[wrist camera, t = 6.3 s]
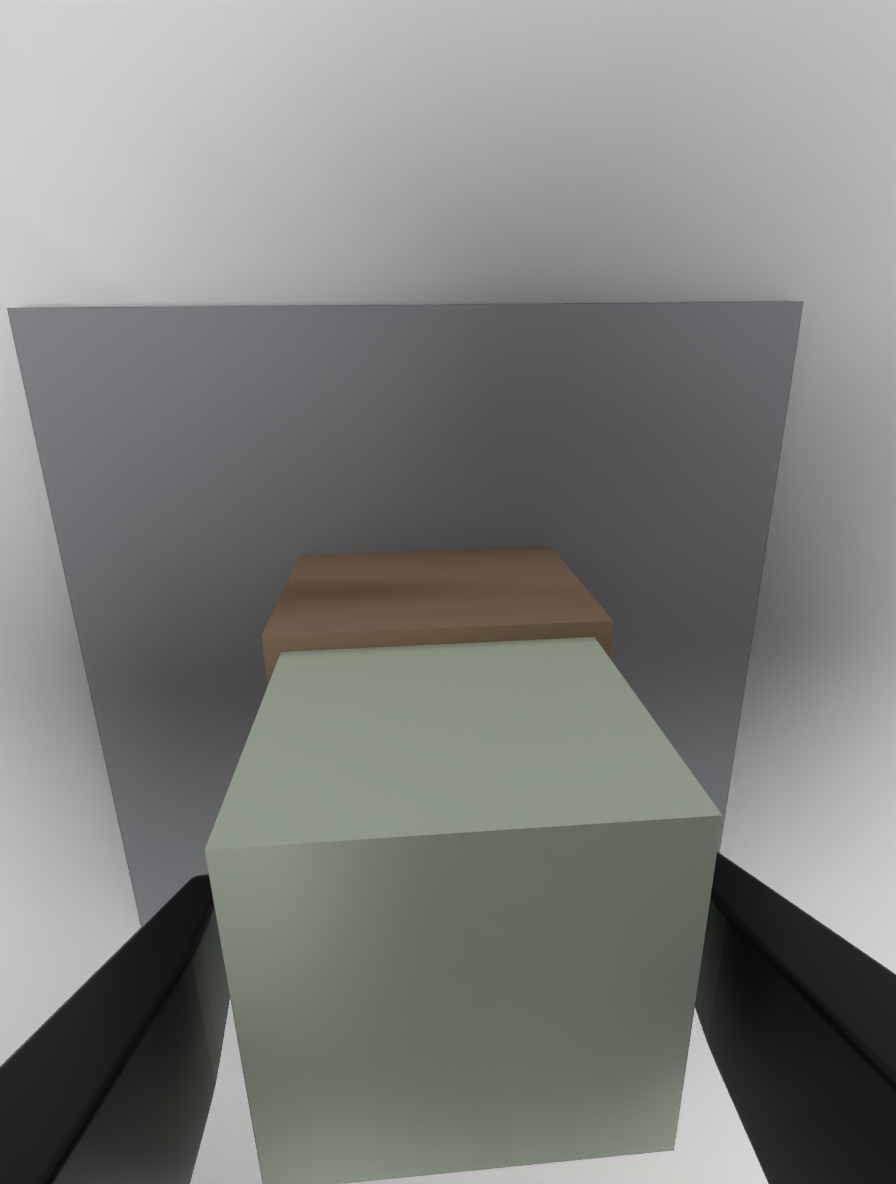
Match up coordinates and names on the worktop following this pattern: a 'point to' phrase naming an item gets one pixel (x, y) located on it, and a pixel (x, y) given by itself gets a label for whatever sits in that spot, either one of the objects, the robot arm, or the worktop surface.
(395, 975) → the sage block
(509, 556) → the walnut block
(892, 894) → the worktop surface
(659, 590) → the slate mat
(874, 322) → the worktop surface
